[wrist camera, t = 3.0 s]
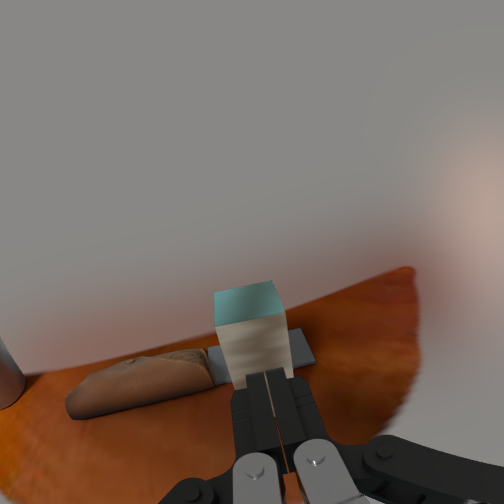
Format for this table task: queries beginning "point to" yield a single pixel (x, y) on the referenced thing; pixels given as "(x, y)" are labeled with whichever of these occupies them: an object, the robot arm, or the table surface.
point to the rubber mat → (298, 350)
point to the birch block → (252, 332)
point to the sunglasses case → (140, 383)
